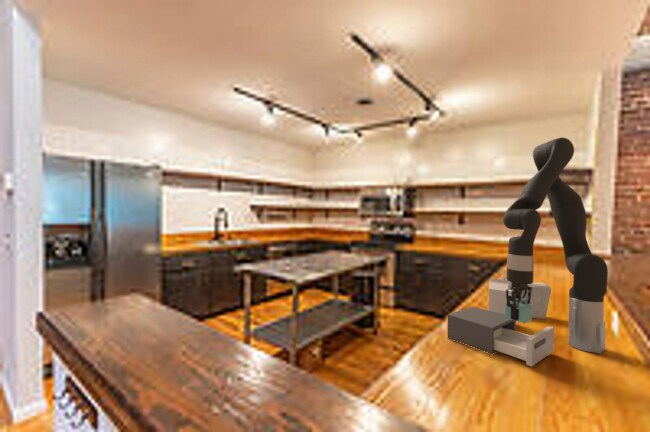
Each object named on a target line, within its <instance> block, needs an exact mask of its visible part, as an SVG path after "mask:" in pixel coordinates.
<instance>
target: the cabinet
mask: <svg viewBox="0 0 650 432" xmlns="http://www.w3.org/2000/svg"><path fill="white" fill-rule="evenodd" d="M499 327H504V328H507V329H511V330H514V331H517V321H515V320H511V319H508V318H505V315H504V314H500V313H496V312H492V311H488V309H483V308H480V307H476V306H470V307H468V308H464V309H460V310H458V311H454V312H452V313H448V314H447V339H448V338H450V339H452V340H451V341H453V340H455V341H454V342H456V341H458V342H461V343H464V344H467V345H469V346H472V347H475V348H477V349H480V350H482V351H485V352H488V353H490V354H489V355H491V354H493V353H494V354H496V353H498V352H497V350H494V330H495V329H497V328H499ZM450 339H449V340H450ZM458 342H457V343H458ZM461 343H460V344H461ZM464 344H463V345H464ZM469 346H468V347H469ZM472 347H471V348H472ZM477 349H476V350H477ZM480 350H479V351H480ZM482 351H481V352H482ZM485 352H484V353H485ZM495 352H496V353H495ZM488 353H487V354H488ZM494 354H493V355H494Z"/></svg>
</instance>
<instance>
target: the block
mask: <svg viewBox="0 0 650 432" xmlns="http://www.w3.org/2000/svg"><path fill="white" fill-rule="evenodd" d="M516 304H517V302H516ZM505 318H508V319H511V308H510V307H508V306H507V303H506V307H505ZM532 319H533V318H532V306H531V305H527V304H523V303H520V306H519V320H517V321H516V320H515V321H516V322H517V323H522V324H527V323H529V322H531V321H532ZM511 320H512V319H511Z"/></svg>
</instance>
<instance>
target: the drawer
mask: <svg viewBox="0 0 650 432" xmlns="http://www.w3.org/2000/svg"><path fill="white" fill-rule="evenodd" d="M554 331H555V328H554V327H553V326H550V325H548V326H546V327H545V328H543V329H541V330H539V331H537V332H535V333H533V334H531V335H530V334H527V333H523V332H521V331H517V330H516V331H514V330H511V329H507V328H504V327H499V328H497V329H495V330H494V350H497V351H498V352H500V353H502V354H505V355H508V356H512V357H514V358H517V359H520V360H522V361H525V365H527V366H529V367H533V366H535V365H536V364H537V363H539V362H541V361H542V360H543V359H546V357H548V356H549V355H550V354H552V353H553V352H554V350H555V349H554V347H555V346H554V344H555V342H554V341H555V340H554V338H555V336H554V335H555V334H554V333H555V332H554Z"/></svg>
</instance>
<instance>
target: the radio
mask: <svg viewBox="0 0 650 432" xmlns="http://www.w3.org/2000/svg"><path fill="white" fill-rule="evenodd" d="M505 276H507V270H506V271H505V272H504V273H503V274H502V275H501V276H500V277H499V278H498V279H503V280H507V277H505ZM535 276H536V277H538V278H539V279H541V281H542V282H535V281H533V283H532V284H528V286H530V287H532V292H531V300H530V304H528V305H531V306H532V319H538V320H539V319H540V320H545V319H547V313H548V308H549V303H550V298H551V294H552V287H551V286H550V285H549V284H547V283H545V281H544V280H543V279H542V278H540V277H539V276H538V275H537V274H535ZM511 284H512V283H511V282H509V287H510V288H511ZM517 300H518V299H517Z"/></svg>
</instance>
